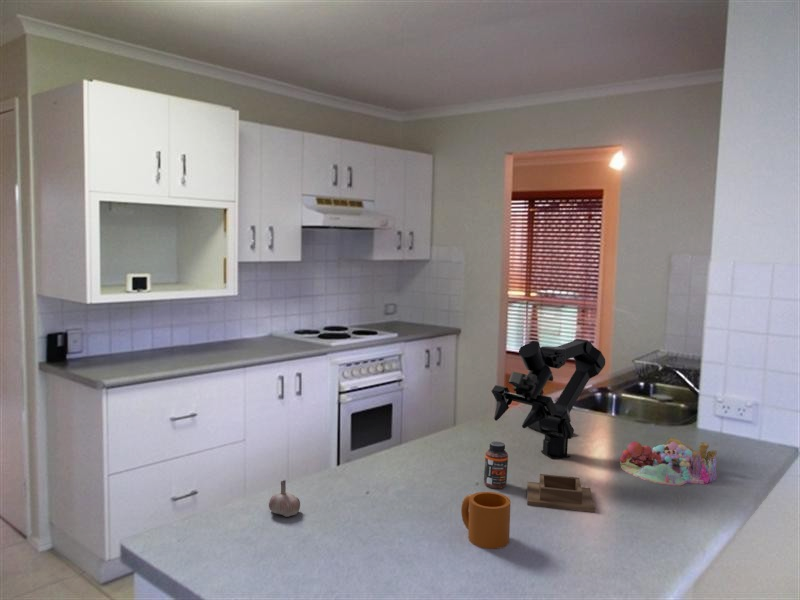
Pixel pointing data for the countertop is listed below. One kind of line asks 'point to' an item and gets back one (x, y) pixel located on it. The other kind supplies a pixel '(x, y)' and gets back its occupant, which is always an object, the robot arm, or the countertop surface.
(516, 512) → the countertop surface
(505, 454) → the supplement bottle
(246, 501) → the countertop surface
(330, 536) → the countertop surface
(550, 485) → the bottle stand
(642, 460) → the coral reef model
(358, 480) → the countertop surface
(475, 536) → the mug
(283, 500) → the garlic bulb
